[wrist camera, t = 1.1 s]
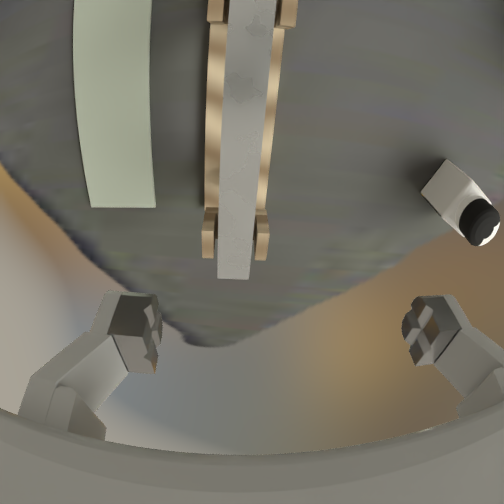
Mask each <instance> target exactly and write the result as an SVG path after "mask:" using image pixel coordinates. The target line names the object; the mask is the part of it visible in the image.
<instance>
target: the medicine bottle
mask: <svg viewBox="0 0 504 504" xmlns="http://www.w3.org/2000/svg"><path fill="white" fill-rule="evenodd" d="M421 195H422V196H423V197H424V198H425V199H426V200H427V201H428V203H429V204H430V205H431V206H432V207H433V208H434V209H435V211H436V212H437V213H438V214H439V215H440V216H441V218H443V219H444V220H445V221H446V222H447V223H448V224H449V225H450V226H452V227H453V228H454V229H455V230H456V231H457V232H458V233H459V234H460V235H461V236H463V237H465V238H466V239H467V240H468V241H469V243H471V245H474V246H481V245H484V244H486V243H487V242H489V241H490V240H491V239H492V238H493V237H494V235H495V234H496V232H497V230H498V228H499V224H500V216H499V213H498V211H497V210H496V209H495V208H494V207H493V206H492V205H491V202H490V200H489V199H488V198H487V197H486V195H485V194H484V193H483V192H482V191H481V189H480V188H479V187H478V186H477V184H476V183H475V182H474V181H473V180H472V179H471V178H470V177H469V176H468V175H466V174H465V173H464V172H463V171H462V170H460V169H459V168H458V167H457V166H455V165H454V164H453V163H452V162H451V161H449V160H448V159H446V160H445V161H444V162H443V164H442V165H441V166H440V168H439V169H438V170H437V172H436V173H435V174H434V175H433V177H432V178H431V179H430V181H429V182H428V183H427V184H426V186H425V187H424V188H423V189H422V191H421Z"/></svg>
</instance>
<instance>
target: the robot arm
mask: <svg viewBox="0 0 504 504" xmlns="http://www.w3.org/2000/svg"><path fill="white" fill-rule="evenodd" d="M158 305H159V302H158V298H157V295H155V294H144V293H133V292H119V291H107V293H106V294H105V295H104V297H103V300H102V302H101V304H100V307H99V309H98V312H97V314H96V317H95V319H94V322H93V324H92V327H91V330H90V332H84V333H83V334H82V335H81V336H80V337H78V338H77V339H76V340H74V341H73V342H72V343H71V344H70V345H68V346H67V347H66V348H65V349H63V350H62V351H61V352H60V353H58V354H57V355H56V356H55V357H54V358H52V359H51V360H50V361H49V362H47V363H46V364H45V365H44V366H43V367H42V368H40V369H39V370H38V371H37V372H35V373H34V374H33V375H32V376H31V378H30V380H29V383H28V386H27V389H26V391H25V394H24V397H23V400H22V403H21V406H20V409H19V412H18V415H16V414H13V413H11V412H8V411H6V410H3V409H1V408H0V504H504V350H503V349H502V348H501V347H500V346H498V345H497V344H496V343H495V342H493V341H492V340H491V339H490V338H488V337H487V336H486V335H484V334H483V333H482V332H480V331H479V330H478V329H477V328H473V327H472V326H471V324H470V322H469V320H468V319H467V317H466V315H465V314H464V312H463V310H462V309H461V307H460V305H459V304H458V302H457V300H456V299H455V297H454V296H452V295H436V296H418V297H416V298H415V299H414V300H413V302H412V304H411V307H412V310H410V311H409V312H408V313H407V314H406V315H405V317H404V319H403V321H402V328H401V329H402V335H403V337H404V340H405V341H406V342H407V343H409V344H410V349H409V352H410V355H411V357H412V359H413V362H414V364H415V366H420V365H427V364H434V366H436V368H437V369H438V370H439V371H440V372H441V373H442V374H443V375H444V376H445V377H446V378H447V379H448V380H449V382H450V383H451V384H452V385H453V386H454V387H455V388H456V389H457V390H458V391H459V392H460V394H461V395H462V396H463V397H464V398H465V399H464V400H463V401H462V402H461V403H460V404H458V406H457V408H456V409H457V412H458V415H459V419H456V420H454V421H451V422H448V423H445V424H441V425H438V426H435V427H432V428H428V429H425V430H421V431H418V432H414V433H410V434H407V435H403V436H398V437H394V438H390V439H386V440H381V441H376V442H372V443H366V444H360V445H354V446H348V447H342V448H335V449H328V450H320V451H310V452H299V453H287V454H286V453H285V454H265V455H219V454H198V453H185V452H175V451H165V450H157V449H149V448H143V447H136V446H130V445H124V444H119V443H114V442H108V441H104V440H105V434H106V427H105V425H104V424H103V423H102V422H101V420H100V419H98V417H97V416H96V415H95V414H94V412H95V411H96V410H97V409H98V408H99V407H100V405H101V404H102V403H103V402H104V401H105V400H106V398H107V397H108V396H109V395H110V394H111V393H112V392H113V391H114V389H115V388H116V387H117V386H118V385H119V384H120V382H121V381H122V380H123V379H124V378H125V377H126V376H127V375H128V372H136V373H146V374H155V372H156V366H157V361H158V353H157V349H156V348H157V347H158V346H159V345H160V344H161V338H162V328H163V327H162V326H163V325H162V317H161V314H160V313H159V312H158V311H157V309H158Z"/></svg>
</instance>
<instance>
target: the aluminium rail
mask: <svg viewBox="0 0 504 504" xmlns="http://www.w3.org/2000/svg"><path fill="white" fill-rule="evenodd" d="M276 1H277V0H230V6H229V18H228V30H227V43H226V57H225V72H224V89H223V106H222V127H221V149H220V177H219V213H218V278H222V279H249V271H250V261H251V251H252V241H253V231H254V221H255V211H256V201H257V191H258V181H259V171H260V161H261V151H262V141H263V131H264V121H265V111H266V101H267V91H268V81H269V71H270V61H271V51H272V41H273V31H274V21H275V11H276Z"/></svg>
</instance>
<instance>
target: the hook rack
mask: <svg viewBox="0 0 504 504" xmlns="http://www.w3.org/2000/svg"><path fill="white" fill-rule="evenodd" d="M297 5H298V0H277V1H276V11H275V21H274V31H273V41H272V51H271V61H270V71H269V81H268V91H267V101H266V111H265V121H264V131H263V141H262V151H261V161H260V171H259V181H258V191H257V201H256V211H255V221H254V231H253V240H254V252H255V260H266V256H267V249H268V241H269V234H270V233H269V226H268V219H267V212H266V210H264V209H265V200H266V192H267V183H268V175H269V166H270V157H271V148H272V140H273V131H274V122H275V113H276V104H277V95H278V86H279V77H280V67H281V58H282V49H283V39H284V30H285V29H290V28H293V27H295V24H296V15H297ZM229 6H230V0H208V12H207V21H208V22H209V23H211V25H210V39H209V55H208V74H207V97H206V128H205V215H204V221H203V227H202V258H213V257H214V247H215V239H218V213H219V177H220V149H221V127H222V106H223V89H224V72H225V57H226V43H227V30H228V18H229Z"/></svg>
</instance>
